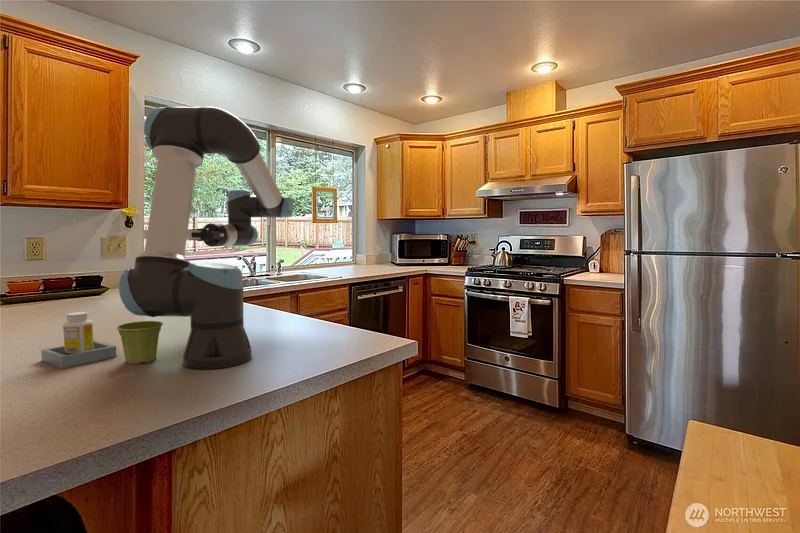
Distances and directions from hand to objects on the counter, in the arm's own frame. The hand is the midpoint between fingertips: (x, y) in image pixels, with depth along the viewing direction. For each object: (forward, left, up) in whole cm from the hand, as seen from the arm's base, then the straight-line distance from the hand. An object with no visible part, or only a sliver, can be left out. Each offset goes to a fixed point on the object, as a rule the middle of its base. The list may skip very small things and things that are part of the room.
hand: (162, 234), depth 116 cm
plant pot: (-14, +14, -30) cm, 36 cm away
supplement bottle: (0, +21, -29) cm, 36 cm away
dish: (0, +21, -30) cm, 37 cm away
